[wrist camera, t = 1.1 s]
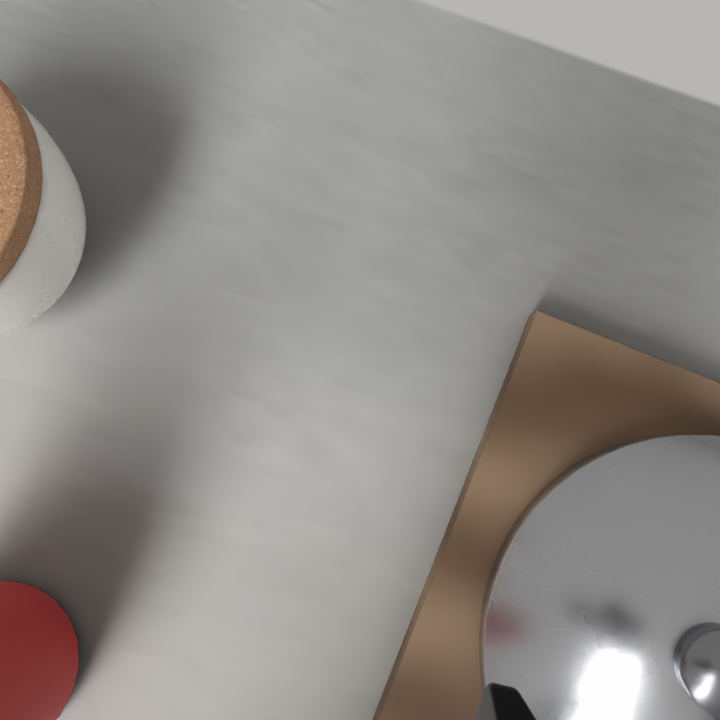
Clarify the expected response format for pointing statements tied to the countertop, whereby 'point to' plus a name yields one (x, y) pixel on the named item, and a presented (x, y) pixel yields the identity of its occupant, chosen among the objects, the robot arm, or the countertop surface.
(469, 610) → the base plate
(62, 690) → the beer can
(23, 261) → the lidded jar
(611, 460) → the dial
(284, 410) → the countertop surface
